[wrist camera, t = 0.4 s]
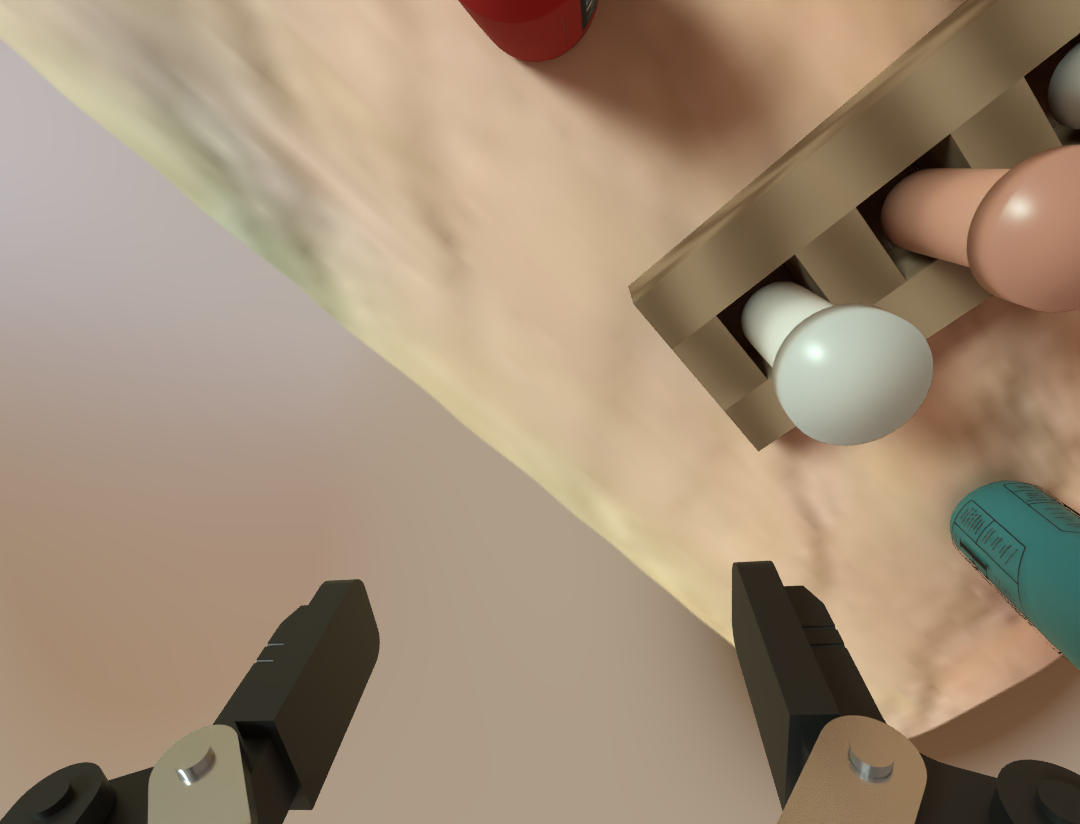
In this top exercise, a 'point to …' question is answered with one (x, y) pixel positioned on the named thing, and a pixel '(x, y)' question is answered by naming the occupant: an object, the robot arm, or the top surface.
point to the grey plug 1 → (838, 363)
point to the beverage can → (533, 25)
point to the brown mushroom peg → (998, 225)
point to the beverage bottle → (1026, 555)
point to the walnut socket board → (861, 198)
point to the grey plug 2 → (1066, 90)
